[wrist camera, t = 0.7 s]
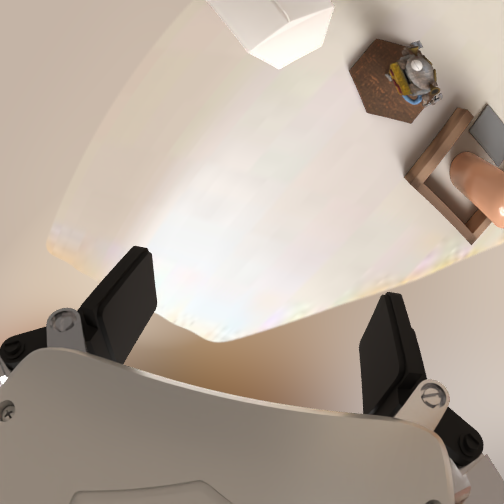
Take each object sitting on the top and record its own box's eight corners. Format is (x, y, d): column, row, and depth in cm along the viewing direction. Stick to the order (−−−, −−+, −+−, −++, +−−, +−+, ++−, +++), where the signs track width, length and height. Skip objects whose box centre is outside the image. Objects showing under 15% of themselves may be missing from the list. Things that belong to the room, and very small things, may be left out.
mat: (487, 104, 26) (488, 104, 26) (515, 141, 27) (516, 141, 27) (468, 131, 29) (469, 131, 29) (497, 166, 30) (498, 166, 30)
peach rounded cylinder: (465, 143, 30) (511, 168, 20) (496, 180, 31) (539, 213, 22) (442, 173, 33) (480, 207, 23) (474, 208, 34) (512, 248, 24)
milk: (293, 7, 26) (270, -86, 7) (322, 46, 28) (344, -11, 9) (249, 32, 28) (170, -29, 10) (278, 71, 31) (235, 47, 12)
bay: (457, 107, 28) (467, 109, 25) (512, 175, 30) (522, 181, 27) (404, 177, 34) (410, 184, 32) (463, 235, 36) (471, 245, 34)
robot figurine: (440, 115, 29) (489, 133, 19) (375, 135, 32) (403, 159, 22) (408, 31, 25) (449, 13, 14) (339, 50, 28) (353, 34, 18)
